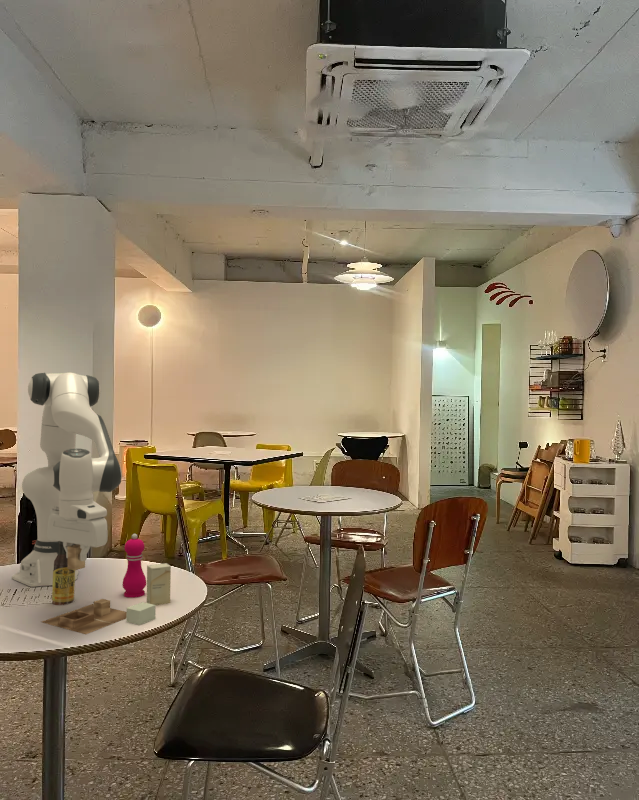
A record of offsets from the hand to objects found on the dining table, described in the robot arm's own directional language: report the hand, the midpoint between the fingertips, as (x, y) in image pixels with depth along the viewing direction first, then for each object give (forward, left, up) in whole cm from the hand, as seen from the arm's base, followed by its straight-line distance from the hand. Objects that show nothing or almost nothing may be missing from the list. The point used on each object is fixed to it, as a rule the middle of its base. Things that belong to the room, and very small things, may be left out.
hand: (76, 559), depth 181 cm
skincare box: (+7, +24, -19) cm, 32 cm away
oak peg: (0, 0, -2) cm, 2 cm away
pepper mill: (-5, +26, -19) cm, 33 cm away
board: (0, +4, -19) cm, 19 cm away
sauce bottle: (-18, +10, -19) cm, 28 cm away
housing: (+14, +11, -19) cm, 25 cm away
